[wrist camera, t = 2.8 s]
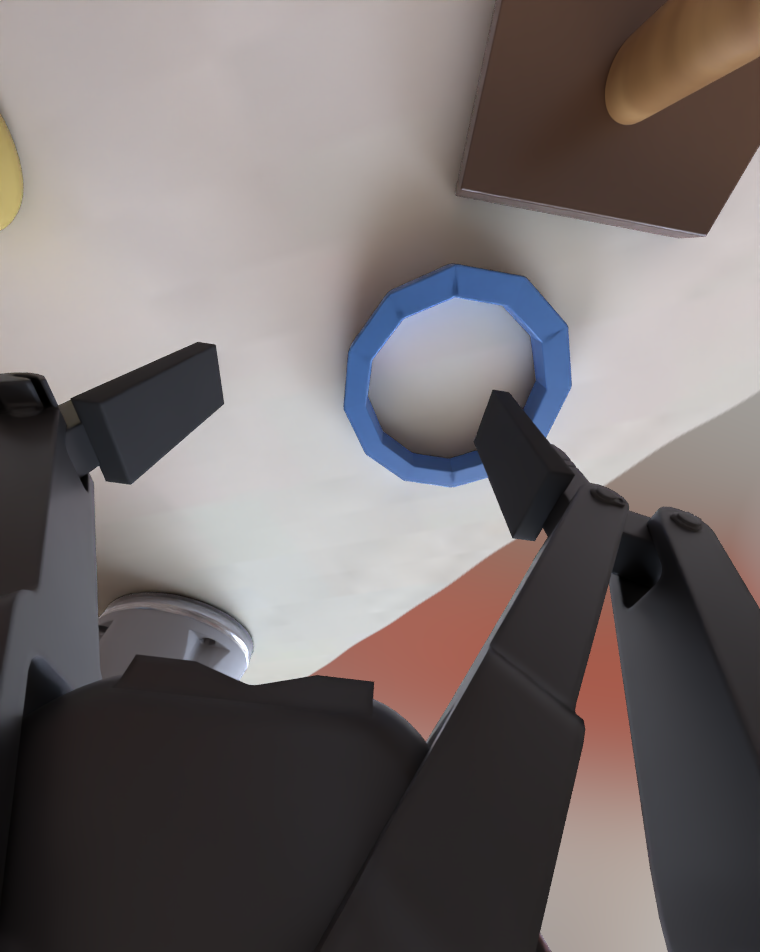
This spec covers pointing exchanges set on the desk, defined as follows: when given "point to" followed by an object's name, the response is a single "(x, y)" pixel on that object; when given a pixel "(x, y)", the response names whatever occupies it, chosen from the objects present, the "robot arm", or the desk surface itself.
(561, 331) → the ring
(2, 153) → the paper tube
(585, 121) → the rack
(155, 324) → the desk surface
